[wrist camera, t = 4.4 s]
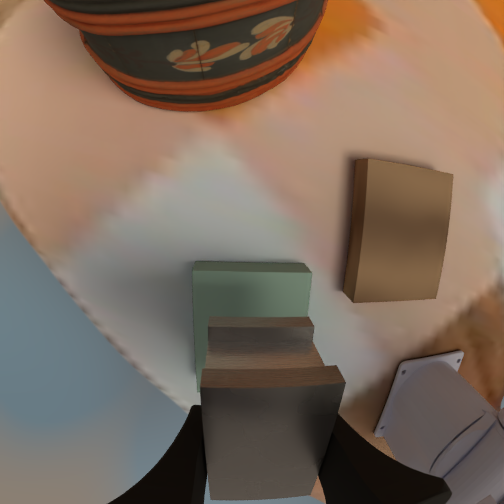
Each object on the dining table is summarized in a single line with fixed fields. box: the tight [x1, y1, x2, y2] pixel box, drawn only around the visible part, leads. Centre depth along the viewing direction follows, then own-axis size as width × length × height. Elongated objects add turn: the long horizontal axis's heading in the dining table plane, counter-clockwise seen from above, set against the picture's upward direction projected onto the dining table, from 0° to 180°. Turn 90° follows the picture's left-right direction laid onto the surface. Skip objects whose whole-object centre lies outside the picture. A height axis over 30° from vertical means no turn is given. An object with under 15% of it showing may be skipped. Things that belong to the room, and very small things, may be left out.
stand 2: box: [343, 158, 453, 303], centre depth 19 cm, size 9×7×2 cm
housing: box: [200, 316, 346, 500], centre depth 11 cm, size 7×4×5 cm, turn 178°
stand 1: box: [192, 261, 312, 392], centre depth 20 cm, size 9×7×2 cm
